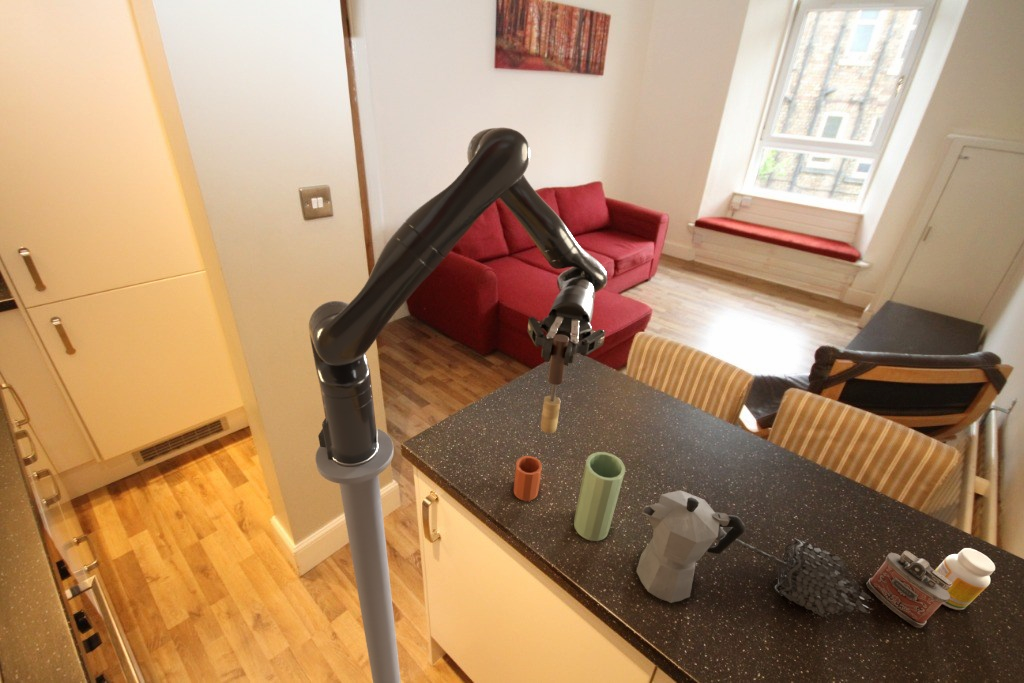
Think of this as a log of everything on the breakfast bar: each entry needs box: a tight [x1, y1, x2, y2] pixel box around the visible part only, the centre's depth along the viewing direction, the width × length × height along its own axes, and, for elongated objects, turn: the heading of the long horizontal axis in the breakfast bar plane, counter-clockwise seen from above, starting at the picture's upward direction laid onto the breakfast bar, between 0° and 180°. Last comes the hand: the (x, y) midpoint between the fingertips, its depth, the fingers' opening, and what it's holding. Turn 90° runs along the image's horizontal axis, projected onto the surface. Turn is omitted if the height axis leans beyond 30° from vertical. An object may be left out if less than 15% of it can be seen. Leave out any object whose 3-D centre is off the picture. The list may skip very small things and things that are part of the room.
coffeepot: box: [635, 489, 746, 604], centre depth 69 cm, size 15×9×18 cm, turn 85°
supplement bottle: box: [935, 547, 996, 611], centre depth 72 cm, size 5×5×10 cm
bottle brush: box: [540, 334, 569, 434], centre depth 73 cm, size 3×3×18 cm
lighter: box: [866, 550, 952, 629], centre depth 70 cm, size 8×3×10 cm, turn 27°
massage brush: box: [715, 527, 875, 620], centre depth 72 cm, size 9×22×9 cm, turn 58°
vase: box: [573, 451, 626, 542], centre depth 78 cm, size 6×6×15 cm
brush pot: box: [513, 455, 543, 502], centre depth 85 cm, size 5×5×7 cm
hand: (557, 358), depth 67 cm, fingers closed on bottle brush, 2 cm apart
